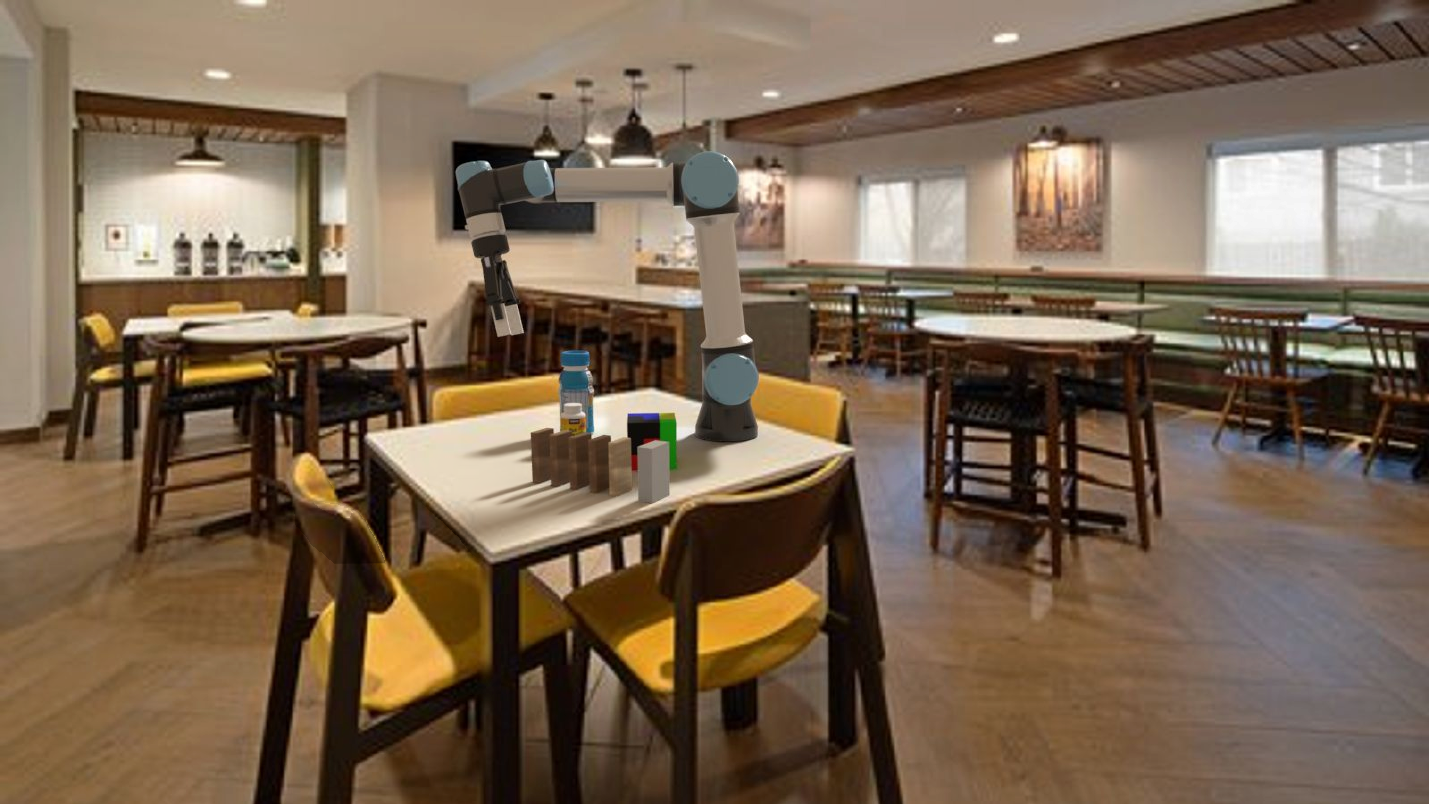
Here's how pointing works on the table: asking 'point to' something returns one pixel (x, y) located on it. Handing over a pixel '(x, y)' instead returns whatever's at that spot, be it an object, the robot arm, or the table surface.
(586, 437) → the domino
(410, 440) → the table surface
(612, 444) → the domino
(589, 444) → the domino
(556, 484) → the domino
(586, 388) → the beverage bottle
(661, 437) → the puzzle toy
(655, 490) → the rectangular block
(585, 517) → the table surface
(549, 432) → the domino
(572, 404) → the supplement bottle
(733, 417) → the robot arm
